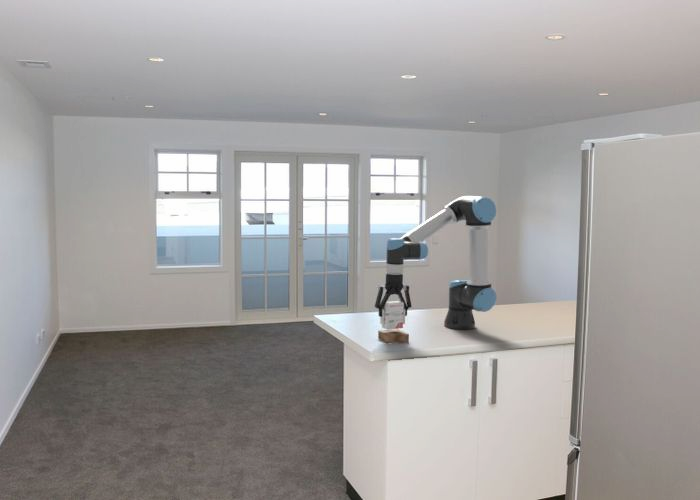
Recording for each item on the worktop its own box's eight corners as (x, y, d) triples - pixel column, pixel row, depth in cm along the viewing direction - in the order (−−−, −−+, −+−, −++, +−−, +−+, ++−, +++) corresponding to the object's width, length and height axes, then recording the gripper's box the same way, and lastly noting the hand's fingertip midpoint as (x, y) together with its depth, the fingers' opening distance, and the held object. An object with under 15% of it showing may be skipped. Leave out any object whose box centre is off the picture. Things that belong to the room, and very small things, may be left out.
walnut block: (397, 337, 306) (398, 329, 306) (408, 343, 297) (408, 334, 297) (378, 339, 302) (378, 330, 302) (388, 344, 293) (388, 335, 293)
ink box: (397, 326, 304) (398, 300, 303) (403, 328, 300) (404, 302, 298) (381, 327, 299) (382, 301, 298) (387, 330, 295) (388, 303, 294)
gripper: (414, 271, 304) (412, 321, 306) (368, 272, 297) (366, 322, 300) (420, 274, 297) (418, 324, 299) (373, 274, 290) (371, 326, 292)
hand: (392, 323), depth 299 cm, fingers closed on ink box, 9 cm apart
